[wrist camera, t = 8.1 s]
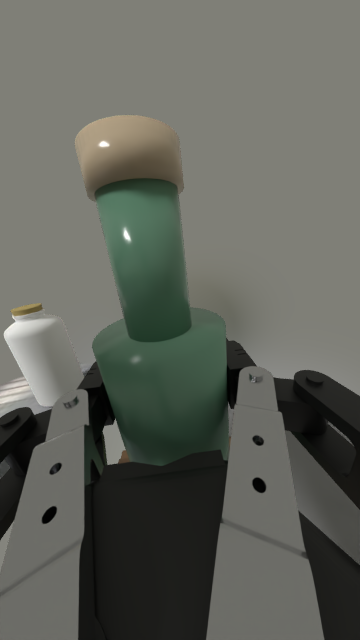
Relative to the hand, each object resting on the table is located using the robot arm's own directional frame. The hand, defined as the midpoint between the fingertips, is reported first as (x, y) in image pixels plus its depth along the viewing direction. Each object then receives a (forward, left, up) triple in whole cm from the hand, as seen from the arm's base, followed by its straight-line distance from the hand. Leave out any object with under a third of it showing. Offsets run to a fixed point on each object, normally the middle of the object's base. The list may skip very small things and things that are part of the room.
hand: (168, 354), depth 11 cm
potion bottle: (-11, +29, -18) cm, 36 cm away
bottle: (-1, -2, -10) cm, 10 cm away
